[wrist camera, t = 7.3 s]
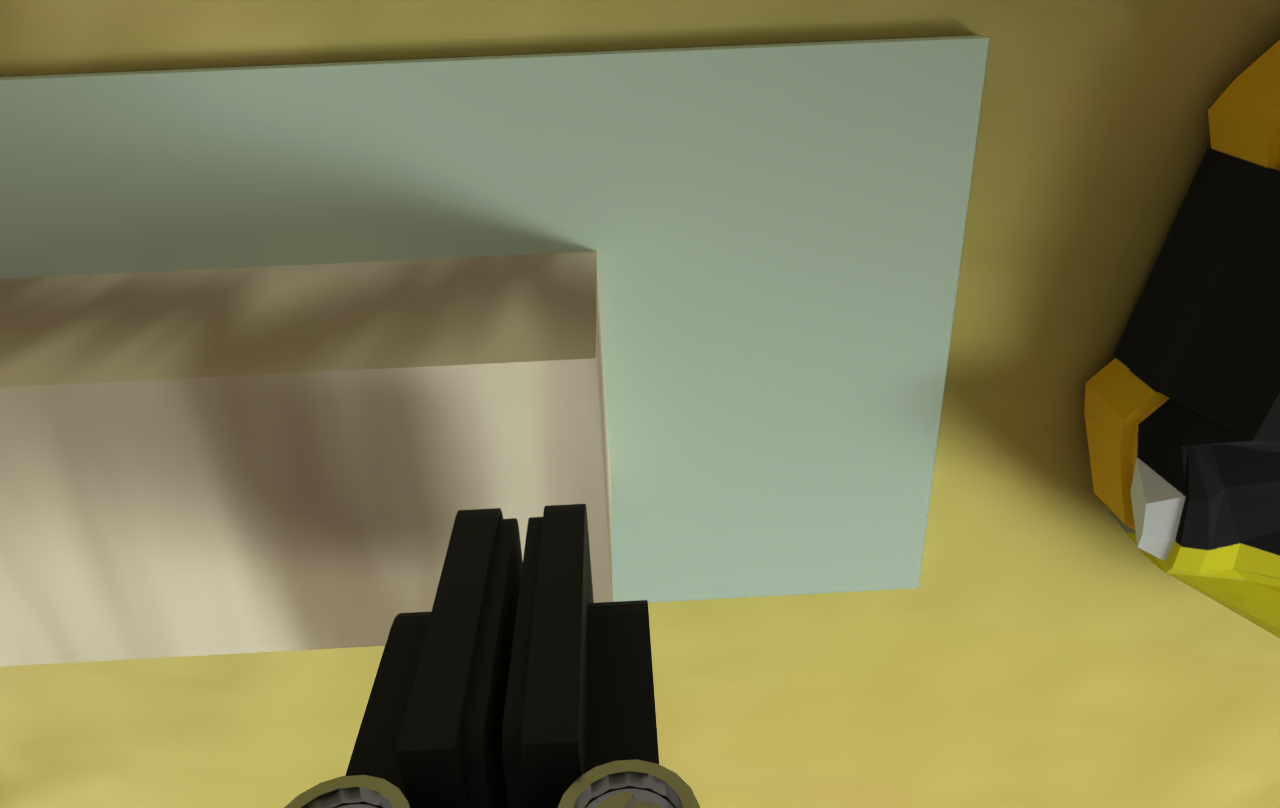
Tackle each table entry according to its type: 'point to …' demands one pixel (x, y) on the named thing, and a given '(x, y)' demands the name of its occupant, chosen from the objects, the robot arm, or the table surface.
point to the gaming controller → (1206, 372)
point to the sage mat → (626, 251)
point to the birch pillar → (282, 446)
